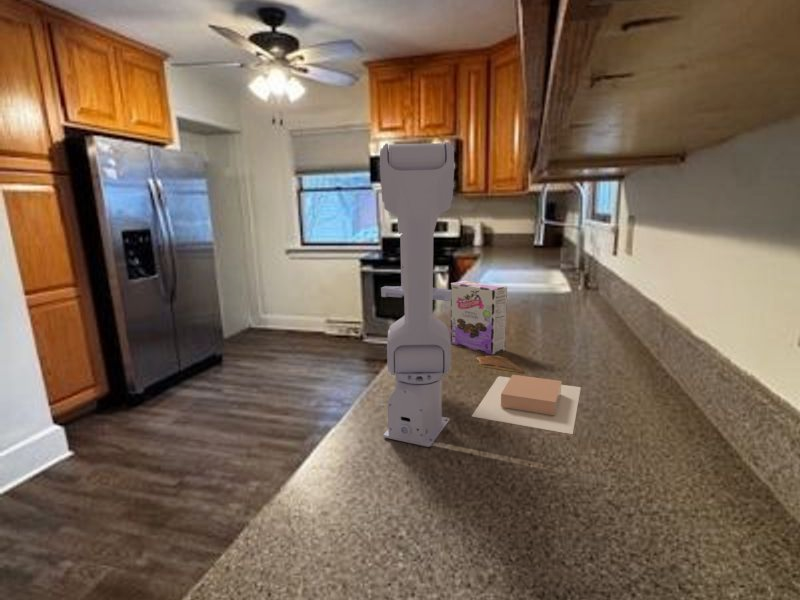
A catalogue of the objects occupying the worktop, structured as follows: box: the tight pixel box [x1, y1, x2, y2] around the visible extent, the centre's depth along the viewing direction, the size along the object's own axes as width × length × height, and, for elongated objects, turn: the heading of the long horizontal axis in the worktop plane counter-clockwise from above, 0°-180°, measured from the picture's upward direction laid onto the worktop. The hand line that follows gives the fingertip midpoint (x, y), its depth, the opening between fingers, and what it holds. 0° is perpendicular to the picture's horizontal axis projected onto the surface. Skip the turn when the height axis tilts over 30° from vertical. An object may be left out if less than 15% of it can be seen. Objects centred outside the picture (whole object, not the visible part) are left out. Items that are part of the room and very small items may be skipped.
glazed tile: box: [501, 374, 563, 416], centre depth 81 cm, size 10×3×9 cm
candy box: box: [450, 279, 508, 356], centre depth 114 cm, size 14×6×16 cm, turn 42°
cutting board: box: [471, 375, 582, 435], centre depth 81 cm, size 20×16×1 cm
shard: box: [476, 355, 525, 374], centre depth 99 cm, size 11×8×2 cm
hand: (416, 333), depth 91 cm, fingers closed
